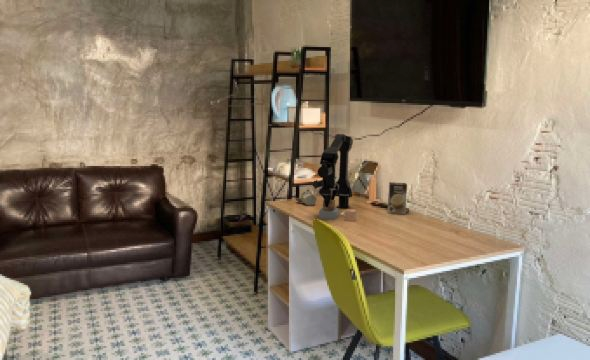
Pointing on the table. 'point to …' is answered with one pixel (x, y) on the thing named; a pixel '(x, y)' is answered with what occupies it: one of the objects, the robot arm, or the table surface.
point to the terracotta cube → (350, 215)
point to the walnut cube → (329, 206)
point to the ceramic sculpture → (307, 198)
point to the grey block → (329, 214)
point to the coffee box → (397, 198)
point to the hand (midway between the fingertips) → (329, 205)
